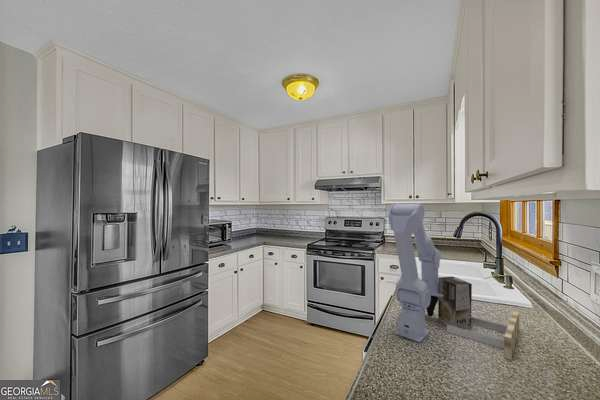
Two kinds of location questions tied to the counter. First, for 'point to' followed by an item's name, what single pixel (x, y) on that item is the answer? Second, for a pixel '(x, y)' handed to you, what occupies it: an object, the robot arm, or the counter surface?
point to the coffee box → (454, 302)
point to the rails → (477, 335)
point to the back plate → (511, 335)
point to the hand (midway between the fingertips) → (430, 315)
